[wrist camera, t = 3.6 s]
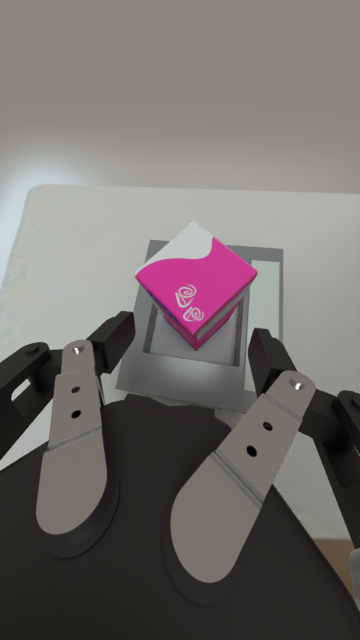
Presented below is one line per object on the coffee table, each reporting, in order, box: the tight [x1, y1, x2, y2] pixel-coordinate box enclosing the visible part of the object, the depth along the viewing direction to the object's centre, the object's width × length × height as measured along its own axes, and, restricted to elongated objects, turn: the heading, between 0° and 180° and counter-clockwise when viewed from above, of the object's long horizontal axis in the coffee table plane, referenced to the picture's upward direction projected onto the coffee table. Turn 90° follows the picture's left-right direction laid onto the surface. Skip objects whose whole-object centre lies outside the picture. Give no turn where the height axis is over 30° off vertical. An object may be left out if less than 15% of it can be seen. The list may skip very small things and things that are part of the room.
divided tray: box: [115, 240, 283, 413], centre depth 20 cm, size 16×18×3 cm
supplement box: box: [134, 221, 258, 351], centre depth 16 cm, size 6×6×12 cm
